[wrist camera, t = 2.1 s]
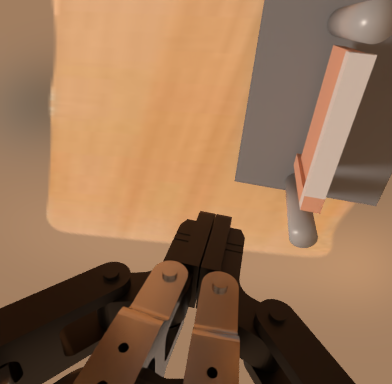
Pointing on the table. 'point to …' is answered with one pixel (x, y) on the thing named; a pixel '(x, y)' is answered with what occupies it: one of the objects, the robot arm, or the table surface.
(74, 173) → the table surface
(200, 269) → the robot arm
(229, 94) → the table surface
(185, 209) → the table surface
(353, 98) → the gate
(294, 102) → the gate frame
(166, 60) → the table surface
